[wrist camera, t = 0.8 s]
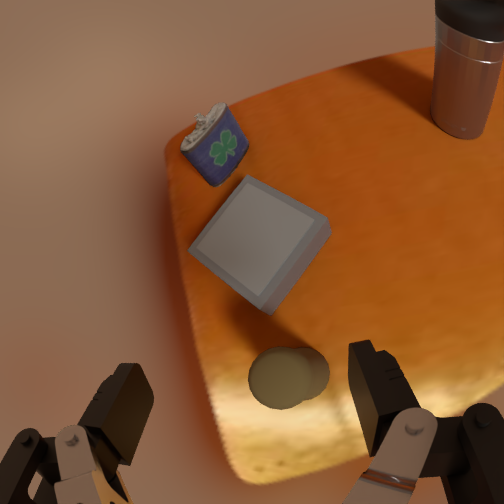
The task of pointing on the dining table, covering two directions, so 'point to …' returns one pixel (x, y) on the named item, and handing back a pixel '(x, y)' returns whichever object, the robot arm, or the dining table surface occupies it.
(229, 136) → the flask
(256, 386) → the cork
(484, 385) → the dining table surface
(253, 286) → the gray rectangular box
